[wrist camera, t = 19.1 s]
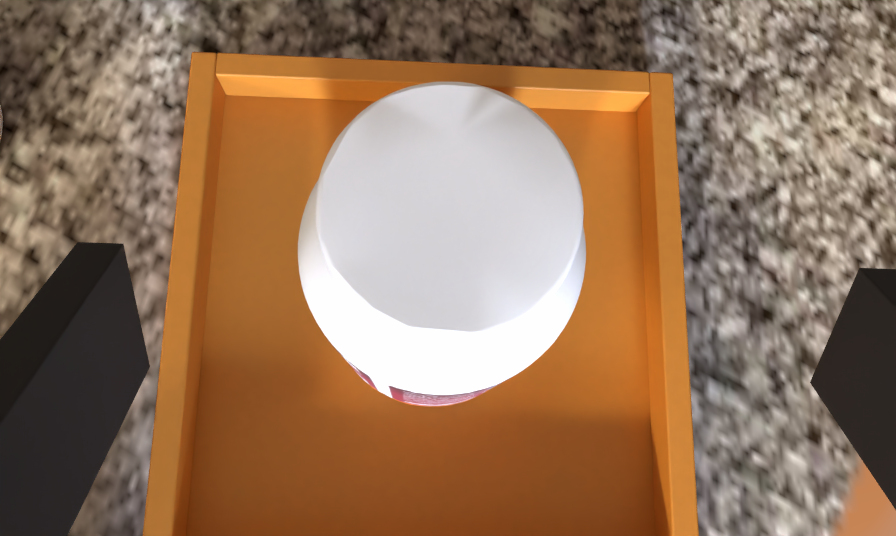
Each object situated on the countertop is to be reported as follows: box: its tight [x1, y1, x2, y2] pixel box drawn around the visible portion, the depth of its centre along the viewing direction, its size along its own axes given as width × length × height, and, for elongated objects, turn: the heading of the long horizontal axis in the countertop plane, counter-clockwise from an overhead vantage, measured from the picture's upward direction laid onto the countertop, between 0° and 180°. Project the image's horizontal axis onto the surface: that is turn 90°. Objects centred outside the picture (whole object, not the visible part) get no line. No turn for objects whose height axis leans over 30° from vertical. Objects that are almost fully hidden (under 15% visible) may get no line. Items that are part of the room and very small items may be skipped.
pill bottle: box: [298, 82, 586, 406], centre depth 18 cm, size 6×6×11 cm
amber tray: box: [143, 52, 699, 536], centre depth 23 cm, size 16×16×2 cm
